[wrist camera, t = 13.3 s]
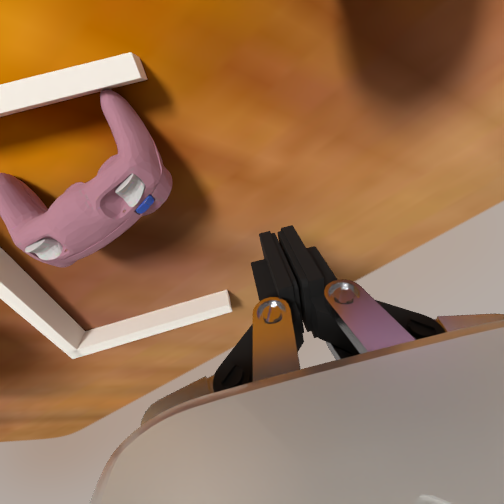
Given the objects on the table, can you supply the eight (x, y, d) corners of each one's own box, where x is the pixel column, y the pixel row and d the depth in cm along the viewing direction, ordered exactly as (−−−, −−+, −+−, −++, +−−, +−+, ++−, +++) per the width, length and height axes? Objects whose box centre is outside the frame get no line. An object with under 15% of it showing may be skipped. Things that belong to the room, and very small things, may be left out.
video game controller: (62, 212, 18) (63, 293, 15) (-19, 174, 14) (-41, 272, 11) (167, 138, 17) (194, 208, 13) (111, 73, 13) (131, 149, 9)
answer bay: (139, 57, 13) (131, 52, 11) (229, 296, 24) (232, 311, 22) (-145, 128, 12) (-197, 133, 11) (81, 340, 23) (72, 359, 22)
